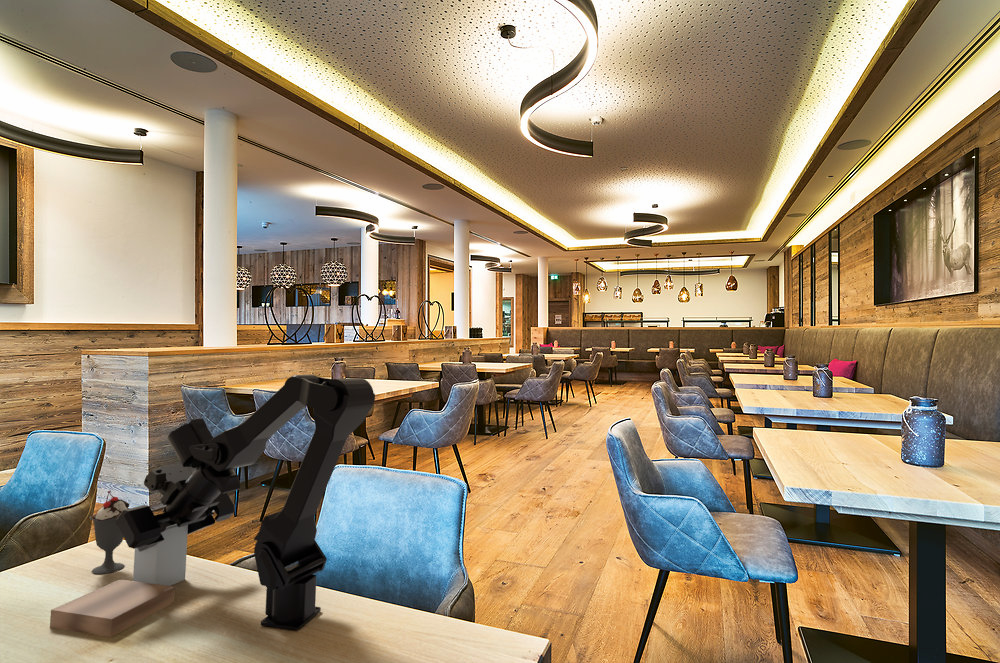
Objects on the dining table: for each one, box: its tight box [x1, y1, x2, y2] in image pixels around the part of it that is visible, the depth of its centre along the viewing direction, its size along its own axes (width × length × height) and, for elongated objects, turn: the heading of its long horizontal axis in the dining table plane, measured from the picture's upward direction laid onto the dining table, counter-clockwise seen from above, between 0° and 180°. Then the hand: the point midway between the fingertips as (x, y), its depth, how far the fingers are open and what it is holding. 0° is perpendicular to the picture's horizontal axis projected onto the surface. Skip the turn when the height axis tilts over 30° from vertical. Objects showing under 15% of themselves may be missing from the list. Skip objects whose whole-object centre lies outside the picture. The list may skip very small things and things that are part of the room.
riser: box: [49, 579, 176, 638], centre depth 81 cm, size 11×11×3 cm
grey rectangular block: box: [132, 525, 189, 586], centre depth 92 cm, size 6×6×11 cm
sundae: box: [88, 490, 130, 575], centre depth 98 cm, size 7×7×15 cm
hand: (156, 543), depth 93 cm, fingers closed on grey rectangular block, 6 cm apart
